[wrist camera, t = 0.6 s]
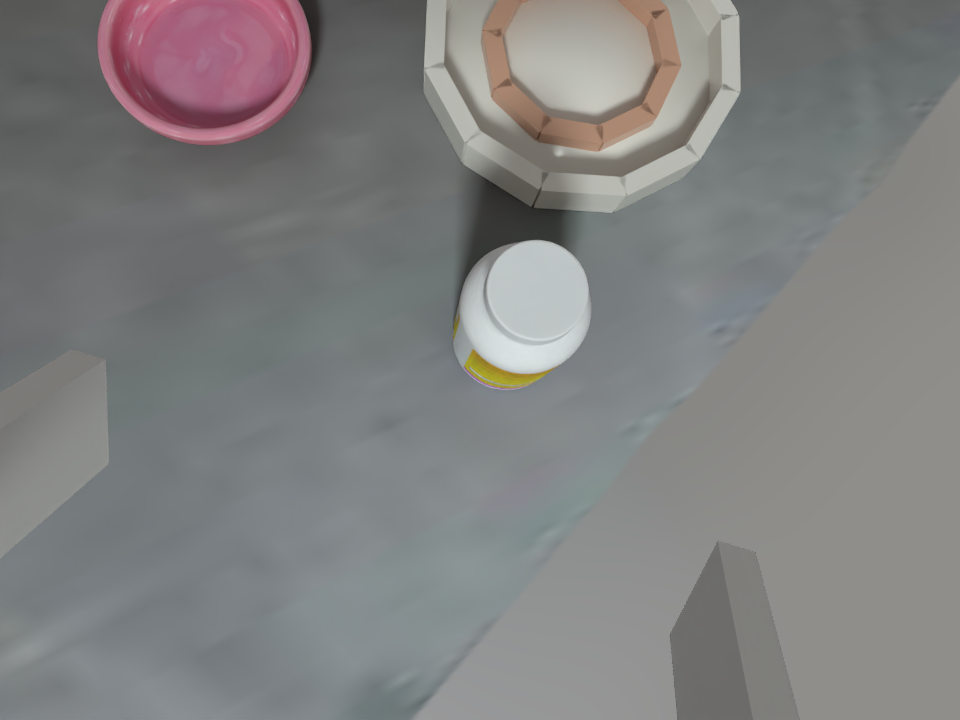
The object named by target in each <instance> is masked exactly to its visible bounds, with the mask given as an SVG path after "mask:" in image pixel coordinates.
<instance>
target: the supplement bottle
mask: <svg viewBox="0 0 960 720" xmlns="http://www.w3.org/2000/svg"><path fill="white" fill-rule="evenodd" d="M590 319H591V299H590V294H589V287H588V281H587V277H586V274H585V272H584V270H583V268H582V266H581V264H580V263H579V262H578V260H577V259H576V258H575V257H574V256H573V255H572V254H571V253H570V252H569V251H568V250H566V249H565V248H563V247H562V246H560V245H557V244H555V243H552V242H549V241H544V240H528V241H522V242H519V243H512V244H508V245H504V246H502V247H499V248H497V249H495V250H493V251H491V252H489V253H488V254H486V255H485V256H484V257H482V258H481V259H480V260H479V261H478V262H477V263H476V264H475V266H474V267H473V268H472V269H471V271H470V272H469V274H468V276H467V278H466V280H465V282H464V285H463V288H462V291H461V295H460V300H459V305H458V308H457V313H456V317H455V321H454V325H453V346H454V351H455V354H456V356H457V359H458V361H459V363H460V364H461V366H462V367H463V369H464V370H465V371H466V372H467V373H468V374H469V375H470V376H471V377H472V378H473V379H475V380H476V381H478V382H479V383H481V384H483V385H485V386H488V387H491V388H495V389H500V390H513V389H519V388H522V387H525V386H528V385H530V384H532V383H534V382H535V381H537V380H539V379H540V378H542V377H543V376H544V375H546V374H547V373H549V372H550V371H551V370H553V369H554V368H556V367H557V366H559V365H560V364H561V363H563V362H564V361H565V360H567V359H568V358H569V357H570V356H571V355H572V354H573V353H574V352H575V351H576V350H577V349H578V347H579V346H580V344H581V343H582V341H583V340H584V338H585V335H586V333H587V331H588V328H589V324H590Z"/></svg>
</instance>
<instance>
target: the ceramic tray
mask: <svg viewBox="0 0 960 720" xmlns="http://www.w3.org/2000/svg"><path fill="white" fill-rule="evenodd" d="M740 91H741V90H740V40H739V16H738V12H737V10H736V9H735V7H734V5H733V4H732V2H731V0H427V16H426V37H425V59H424V95H425V96H426V98H427V100H428V102H429V104H430V106H431V107H432V109H433V111H434V113H435V115H436V117H437V118H438V120H439V122H440V124H441V126H442V128H443V129H444V131H445V133H446V135H447V137H448V139H449V140H450V142H451V144H452V146H453V148H454V150H455V151H456V153H457V155H458V157H459V159H460V161H461V162H464V163H463V165H465V166H467V167H468V168H470V169H471V170H473V171H475V172H476V173H478V174H479V175H481V176H482V177H484V178H486V179H487V180H489V181H490V182H492V183H494V184H495V185H497V186H498V187H500V188H502V189H503V190H505V191H506V192H508V193H509V194H511V195H513V196H514V197H516V198H517V199H519V200H521V201H522V202H524V203H525V204H527V205H529V206H530V207H532V205H533V204H534V208H542V209H559V210H575V211H591V212H608V213H613V211H614V212H616V211H618V210H620V209H622V208H624V207H626V206H628V205H630V204H632V203H634V202H636V201H638V200H640V199H642V198H644V197H646V196H648V195H650V194H652V193H654V192H656V191H658V190H660V189H662V188H664V187H666V186H668V185H670V184H672V183H674V182H676V181H678V180H680V179H682V178H683V177H684V176H685V175H686V174H687V172H688V171H689V170H690V169H691V168H692V167H693V166H694V165H695V164H696V163H697V162H698V161H699V160H700V159H701V157H702V156H703V154H704V152H705V151H706V149H707V147H708V146H709V144H710V142H711V141H712V139H713V137H714V136H715V134H716V132H717V131H718V129H719V127H720V126H721V124H722V122H723V121H724V119H725V117H726V116H727V114H728V112H729V111H730V109H731V108H732V106H733V104H734V103H735V101H736V99H737V98H738V96H739V94H740V93H739V92H740Z"/></svg>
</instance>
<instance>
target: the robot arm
mask: <svg viewBox="0 0 960 720" xmlns="http://www.w3.org/2000/svg"><path fill="white" fill-rule="evenodd" d="M108 464H109V452H108V420H107V389H106V359H102V358H99V357H95V356H92V355H89V354H85V353H82V352H79V351H75V350H70V351H68V352H67V353H65V354H63V355H62V356H60V357H58V358H57V359H55V360H53V361H52V362H50V363H48V364H47V365H45V366H43V367H42V368H40V369H38V370H37V371H35V372H33V373H32V374H30V375H28V376H27V377H25V378H23V379H22V380H20V381H18V382H17V383H15V384H13V385H12V386H10V387H8V388H7V389H5V390H3V391H2V392H0V558H1V557H2V556H3V555H4V554H5V553H7V552H8V551H9V550H10V549H11V548H12V547H13V546H15V545H16V544H17V543H18V542H19V541H20V540H21V539H23V538H24V537H25V536H26V535H27V534H28V533H30V532H31V531H32V530H33V529H34V528H35V527H36V526H38V525H39V524H40V523H41V522H42V521H43V520H44V519H46V518H47V517H48V516H49V515H50V514H51V513H53V512H54V511H55V510H56V509H57V508H58V507H59V506H61V505H62V504H63V503H64V502H65V501H66V500H67V499H69V498H70V497H71V496H72V495H73V494H74V493H76V492H77V491H78V490H79V489H80V488H81V487H82V486H84V485H85V484H86V483H87V482H88V481H89V480H90V479H92V478H93V477H94V476H95V475H96V474H97V473H99V472H100V471H101V470H102V469H103V468H104V467H105V466H107V465H108ZM670 641H671V653H672V664H673V675H674V687H675V698H676V709H677V720H800V719H799V715H798V711H797V707H796V704H795V700H794V696H793V692H792V688H791V684H790V681H789V677H788V673H787V669H786V665H785V662H784V658H783V654H782V650H781V647H780V643H779V639H778V636H777V632H776V628H775V624H774V620H773V616H772V612H771V609H770V605H769V602H768V598H767V594H766V590H765V586H764V583H763V578H762V575H761V571H760V567H759V563H758V560H757V556H756V552H753V551H750V550H747V549H744V548H740V547H736V546H733V545H730V544H726V543H723V542H719V541H718V542H717V544H716V546H715V548H714V550H713V551H712V553H711V556H710V557H709V559H708V561H707V563H706V565H705V567H704V569H703V571H702V573H701V575H700V577H699V579H698V581H697V583H696V585H695V587H694V588H693V591H692V592H691V595H690V596H689V598H688V600H687V602H686V604H685V606H684V608H683V610H682V612H681V614H680V616H679V618H678V620H677V622H676V624H675V626H674V628H673V630H672V631H671V634H670Z"/></svg>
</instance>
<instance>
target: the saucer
mask: <svg viewBox="0 0 960 720" xmlns="http://www.w3.org/2000/svg"><path fill="white" fill-rule="evenodd" d="M98 56H99V61H100V65H101V69H102V72H103V75H104V77H105V79H106V81H107V83H108V85H109V87H110V89H111V91H112V92H113V94H114V95H115V97H116V98H117V99H118V101H119V102H120V103H121V104H122V106H123V107H124V108H125V109H126V110H127V111H128V112H129V113H130V114H131V115H132V116H133V117H134V118H136V119H137V120H138V121H139V122H141V123H142V124H143V125H145V126H146V127H148V128H149V129H151V130H153V131H155V132H157V133H159V134H161V135H163V136H165V137H168V138H171V139H174V140H177V141H181V142H186V143H191V144H199V145H218V144H227V143H233V142H237V141H241V140H245V139H247V138H250V137H252V136H254V135H257V134H259V133H261V132H263V131H264V130H266V129H268V128H269V127H271V126H272V125H274V124H275V123H276V122H278V121H279V120H280V119H281V118H282V117H283V116H284V115H285V114H286V113H287V112H288V111H289V110H290V109H291V108H292V107H293V105H294V104H295V103H296V101H297V100H298V98H299V96H300V95H301V93H302V91H303V89H304V86H305V84H306V81H307V78H308V75H309V71H310V67H311V59H312V42H311V35H310V30H309V26H308V22H307V19H306V16H305V13H304V11H303V8H302V6H301V4H300V2H299V1H298V0H108V2H107V4H106V7H105V9H104V11H103V14H102V17H101V20H100V24H99V30H98Z"/></svg>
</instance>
